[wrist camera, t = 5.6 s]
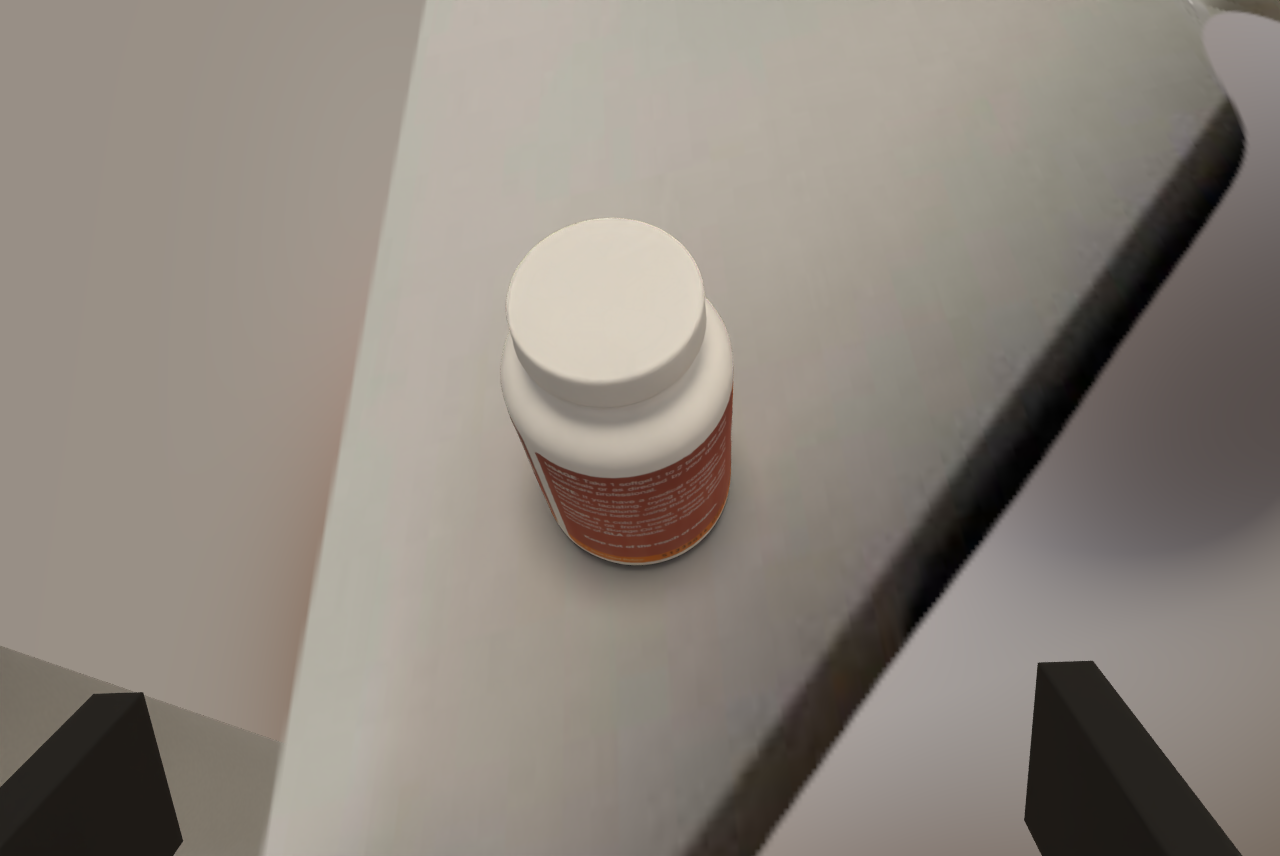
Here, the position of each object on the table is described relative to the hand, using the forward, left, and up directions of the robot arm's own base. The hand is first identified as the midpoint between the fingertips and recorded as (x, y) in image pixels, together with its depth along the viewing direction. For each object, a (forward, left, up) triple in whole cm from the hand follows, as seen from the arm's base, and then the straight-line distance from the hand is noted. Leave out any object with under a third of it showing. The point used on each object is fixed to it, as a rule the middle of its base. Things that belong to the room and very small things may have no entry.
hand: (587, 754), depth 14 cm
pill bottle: (0, +10, -15) cm, 18 cm away
